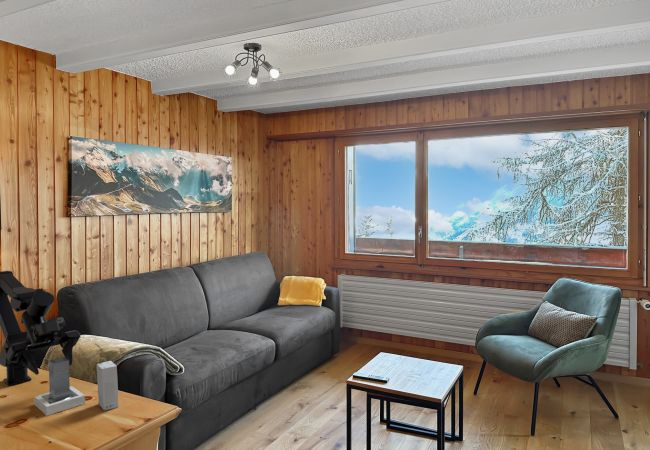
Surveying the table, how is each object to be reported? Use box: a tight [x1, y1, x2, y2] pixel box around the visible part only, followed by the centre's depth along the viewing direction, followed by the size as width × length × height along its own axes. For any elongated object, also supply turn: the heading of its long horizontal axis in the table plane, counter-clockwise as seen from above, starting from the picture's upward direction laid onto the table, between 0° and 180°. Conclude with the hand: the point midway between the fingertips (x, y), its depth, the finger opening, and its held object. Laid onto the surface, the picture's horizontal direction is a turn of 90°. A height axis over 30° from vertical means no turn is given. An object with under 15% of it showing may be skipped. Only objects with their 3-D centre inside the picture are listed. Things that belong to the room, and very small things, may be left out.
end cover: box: [48, 356, 72, 404], centre depth 133 cm, size 6×6×13 cm
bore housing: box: [34, 385, 86, 417], centre depth 133 cm, size 10×10×2 cm
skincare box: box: [96, 360, 120, 411], centre depth 132 cm, size 6×4×12 cm
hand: (55, 369), depth 134 cm, fingers open, 9 cm apart
